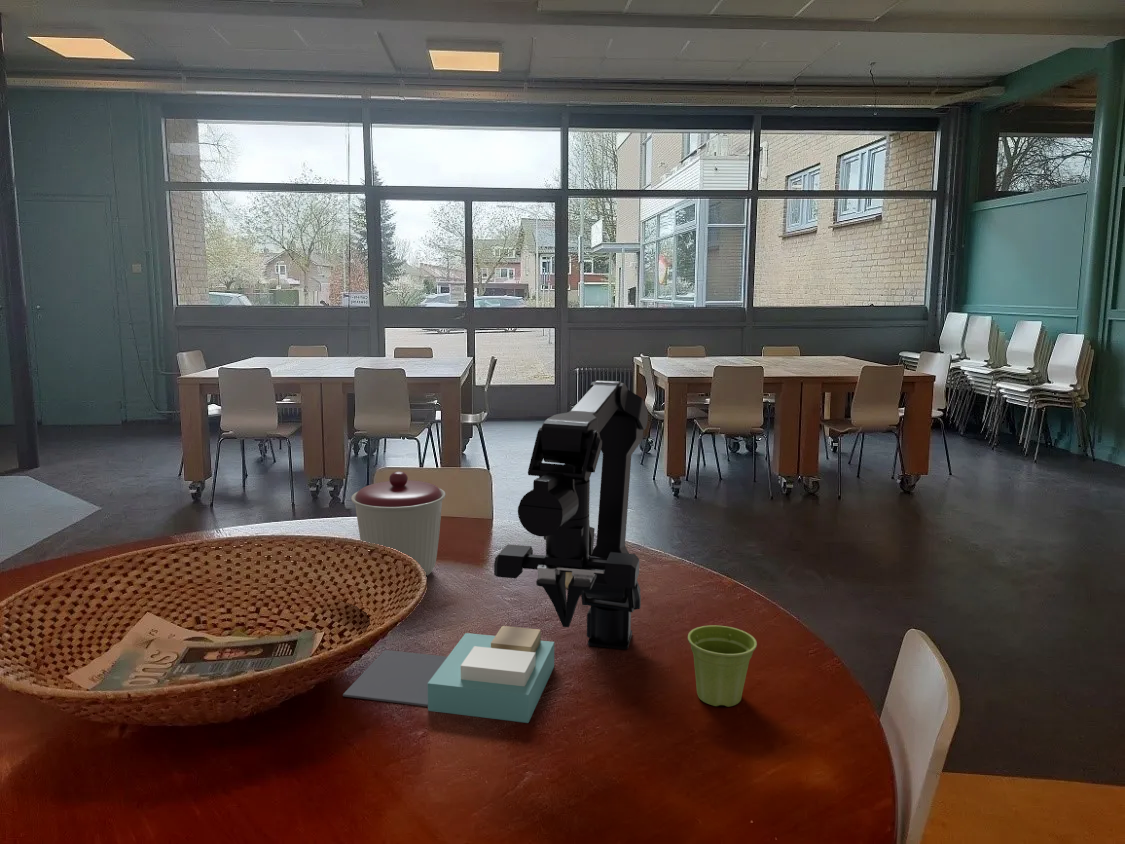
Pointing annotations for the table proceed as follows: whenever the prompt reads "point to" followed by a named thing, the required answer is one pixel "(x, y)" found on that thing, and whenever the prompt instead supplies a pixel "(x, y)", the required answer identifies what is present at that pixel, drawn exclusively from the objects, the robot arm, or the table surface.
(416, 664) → the mat
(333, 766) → the table surface
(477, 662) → the white box
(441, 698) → the plate
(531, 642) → the oak tile
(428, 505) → the canister
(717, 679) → the plant pot
